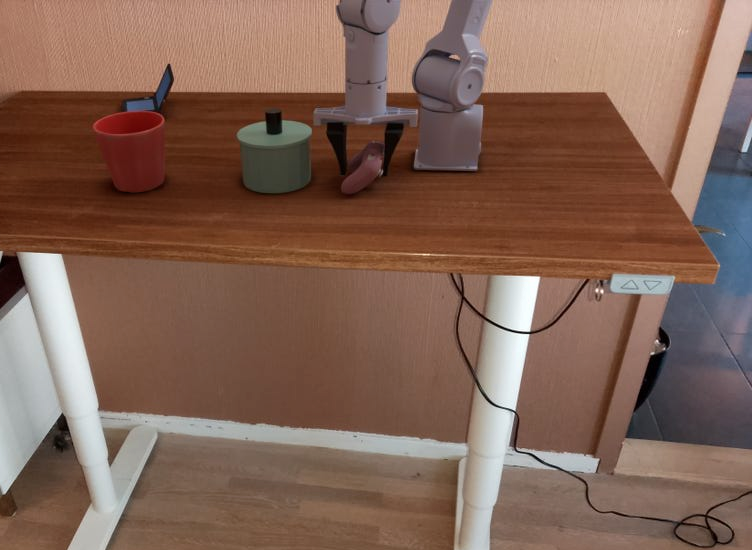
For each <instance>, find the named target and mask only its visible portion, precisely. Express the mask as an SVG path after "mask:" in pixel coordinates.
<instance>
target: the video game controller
mask: <svg viewBox="0 0 752 550" xmlns="http://www.w3.org/2000/svg"><path fill="white" fill-rule="evenodd" d="M383 157H384V143H383V142H380V141H378V140H377V141H374V139H372V140H371V142H368V143H367V144H366V145H365V146H364V148H362V150H360V151H359V152H358V153H356V154H355V155H354V156H352V157H351V158H350V160H349V161H348V162H347V170H349V171H350V172H351V174H349V175H348V176H347V177H345V179H344V180H343V181H342V183H341V185H340V190H341V192H342V193H343V194H346V195H351V194H355V193H358V192H361V191H362V190H363V189H365V188H369V186H370V185H371V184H372V183H373V182H374V180H375V179H376V178H377V177H378V178H381V176H382V173H383V168H382V165H383V164H382V163H383V160H382V158H383ZM381 168H382V169H381Z"/></svg>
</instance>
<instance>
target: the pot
mask: <svg viewBox="0 0 752 550" xmlns="http://www.w3.org/2000/svg"><path fill="white" fill-rule="evenodd" d="M239 153H240V162H241V163H240V165H241V176H242V182H243V185H244V186H245V188H247V189H248V190H250V191H254V192H257V193H261V194H263V193H264V194H282V193H283V194H284V193H290V192H293V191H297V190H300V189H302V188H304V187H305V186H307V185H308V184H310V182H311V177H312V157H311V155H312V153H311V138H310V139H309V140H307V141H306V142H304V143H301V144H299V145H295V146H291V147H286V148H277V149H260V148H253V147H249V146H245V145H243V144H241V143H240V142H239Z"/></svg>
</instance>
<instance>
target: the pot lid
mask: <svg viewBox="0 0 752 550" xmlns="http://www.w3.org/2000/svg"><path fill="white" fill-rule="evenodd" d="M264 117H265V118H264V119H265V121H258V122H255V123H251V124H248V125H245V126H244V127H242V128H240V129H239V130H238V131H237V133H236V139H237V142H238V143H239V144H240V143H241V144H243V145H245V146H249V147H253V148H260V149H277V148H286V147H291V146H295V145H299V144H301V143H304V142H306V141H307V140H309V139H310V140H311V138H312V136H313V129H312V128H311V126H310V125H308V124H306V123H303V122H300V121H294V120H284V119H283V115H282V109H281V108H277V107H273V108H267V109H265V110H264Z"/></svg>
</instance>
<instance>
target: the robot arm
mask: <svg viewBox="0 0 752 550" xmlns="http://www.w3.org/2000/svg"><path fill="white" fill-rule="evenodd" d="M450 1H451V2H450V4H449V7H448V11H447V13H446V17H445V21H444V24H443V27H442V30H441V31H440V32H438V33H437V34H435V35H434V36H433V37H431V38H430V39H428V41H427V42H425V46H424V49H423V52H422V54H421V56H420V57H419V58H418V59H417V61H416V63H415V64H414V67H413V69H412V71H411V86H412V88H413V91H414V92H415V93H416V94H417V95H418V99H417V101H418V102H419V103H420V113H419V109H417V108H416V109H415V108H402V107H394V106H388V105H387V93H388V91H387V89H388V63H389V41H390V40H389V37H390V36H389V35H390V28H391V27H392V26H393V25H394V24H395V23H396V22H398V21H397V20H398V19H399V17H400V12H401V3H402V0H339V2H338V4H336V5H335V13H336V17H337V19H338V21H339V22H340V24H341V26H342V28H343V35H342V36H343V37H344V45H345V46H344V48H345V49H344V50H345V51H344V53H345V55H344V57H345V58H344V80H345V81H344V106H336V107H322V108H321V107H319V108H315V109H314V111H313V126H314V127H321V126H322V125H324V126H325V125H326V130H325V135H326V137H327V139H328V141H329V143H330V145H331V147H332V149H333V151H334V154H335V156H336V160H337V163H338V167H339V174H340V176H343V177H344V176H346V175H347V171H348V155H347V133H348V126H385V129H384V139H383V141H384V143H383V144H384V154H383V161H382V163H383V164H382V169H383V173H382V175H381V176H382V178H383V177H384V178H385V177H386V178H387V177H388V175H389V168H390V164H391V160H392V157H393V156H394V152H395V151H396V147H397V146H398V144H399V142H400V141H401V138H402V136H403V134H404V130H405V129H404V128H405V127H409V128H417V127H418V117H419V130H418V143H417V148H416V150H415V153H414V161H413V169H414V170H417V171H452V172H453V171H455V172H458V171H459V172H476V171H478V162H479V155H481V151H482V142H481V138H482V129H483V119H484V118H483V117H484V105H482V104H476V102H477V101H478V99H479V98H480V96H481V95H482V92H483V90H484V86H485V78H486V77H485V73H486V68H487V64H488V61H489V55H488V54H487V52H486V51H485V49H484V47H483V45H482V43H481V41H480V39H481V36H482V33H483V30H484V28H485V24H486V22H487V18H488V16H489V12H490V10H491V6H492V3H493V1H494V0H450ZM452 56H457V57H458V58H459V59H458V58H453V57H452ZM418 115H419V116H418Z"/></svg>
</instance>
